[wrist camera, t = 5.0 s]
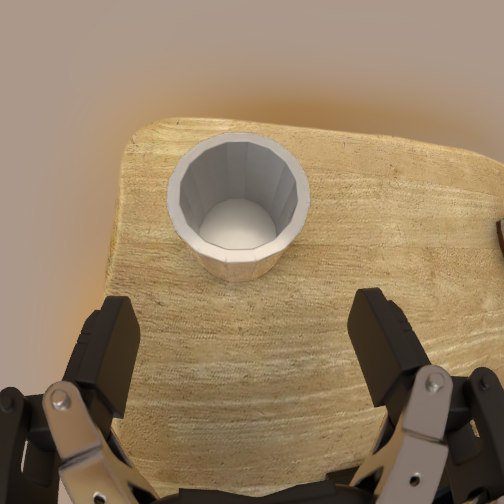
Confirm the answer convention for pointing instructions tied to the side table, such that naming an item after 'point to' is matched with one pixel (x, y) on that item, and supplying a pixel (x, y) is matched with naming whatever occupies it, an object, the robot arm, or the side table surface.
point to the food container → (501, 233)
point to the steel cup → (238, 203)
